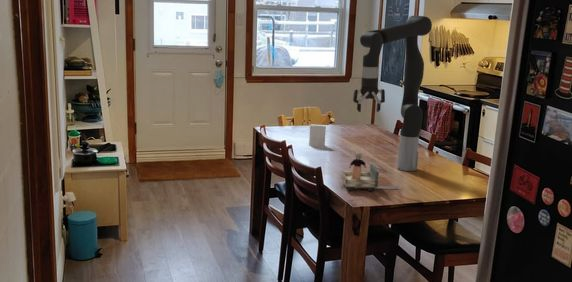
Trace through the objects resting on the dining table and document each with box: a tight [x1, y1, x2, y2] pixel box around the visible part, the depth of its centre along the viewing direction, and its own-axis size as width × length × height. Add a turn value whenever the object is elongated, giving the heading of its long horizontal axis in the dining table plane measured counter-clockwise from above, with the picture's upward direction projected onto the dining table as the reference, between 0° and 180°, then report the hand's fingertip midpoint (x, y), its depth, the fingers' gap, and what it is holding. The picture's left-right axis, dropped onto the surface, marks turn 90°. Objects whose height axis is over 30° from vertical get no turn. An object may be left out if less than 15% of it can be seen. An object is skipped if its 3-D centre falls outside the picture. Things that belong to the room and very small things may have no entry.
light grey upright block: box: [308, 123, 327, 149], centre depth 335 cm, size 9×9×12 cm
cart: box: [341, 163, 380, 193], centre depth 261 cm, size 14×13×9 cm
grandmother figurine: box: [348, 151, 367, 180], centre depth 259 cm, size 8×4×13 cm, turn 106°
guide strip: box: [339, 184, 400, 190], centre depth 262 cm, size 26×3×1 cm, turn 93°
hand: (368, 111), depth 271 cm, fingers open, 8 cm apart
